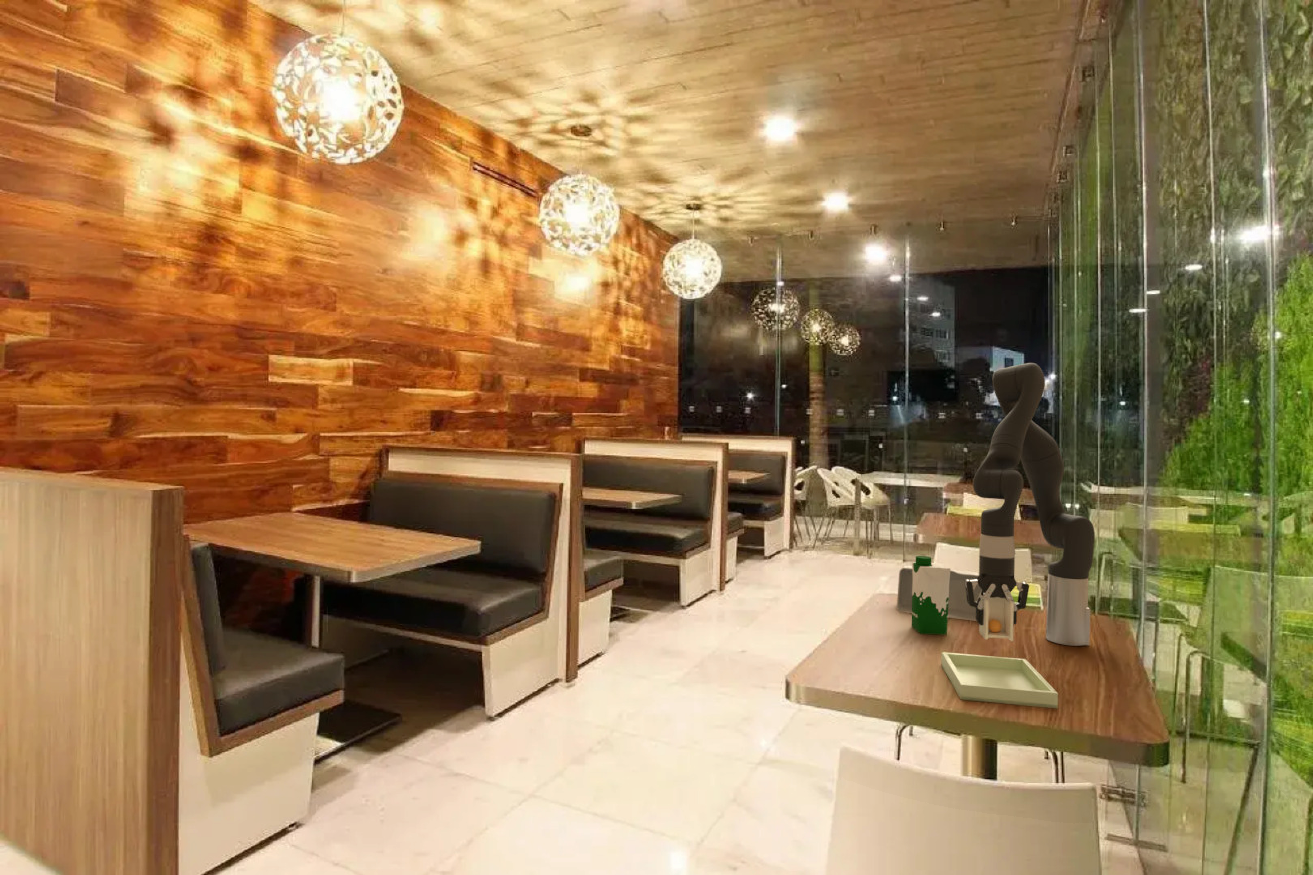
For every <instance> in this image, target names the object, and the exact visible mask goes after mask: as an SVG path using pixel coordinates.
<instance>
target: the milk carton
mask: <svg viewBox="0 0 1313 875" xmlns="http://www.w3.org/2000/svg"><path fill="white" fill-rule="evenodd" d="M911 566H912V573H913V584H912V613H911V628H913V629H914V630H915V631H916V632H918V633H919V634H920V635H946V636H947V634H948V621H949V618H948V604H949V579H950V570H952V569H951V568H950V567H948V566H947V565H945V564H943V563H939V562H932V557H930V556H925V555H918V556H917V555H916V556H915V561H912V562H911Z"/></svg>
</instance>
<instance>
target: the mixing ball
mask: <svg viewBox="0 0 1313 875" xmlns="http://www.w3.org/2000/svg"><path fill="white" fill-rule="evenodd" d="M1001 627H1002V626H1001V623H1000V622H999V621H998V620H995V619H992V620H990V621H989V622H988V629H989V630H990V631H992V632H999V631H1000V630H1001Z"/></svg>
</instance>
